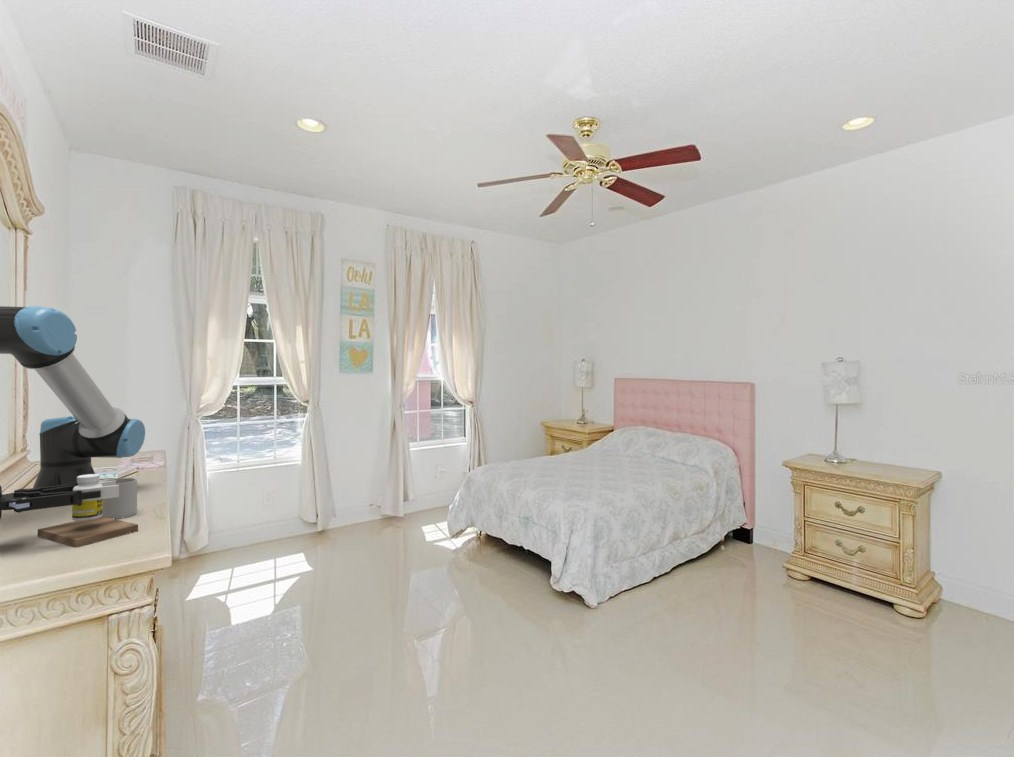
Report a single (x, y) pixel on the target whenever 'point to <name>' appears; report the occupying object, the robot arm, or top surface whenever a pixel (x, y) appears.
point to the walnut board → (87, 531)
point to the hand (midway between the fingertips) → (117, 488)
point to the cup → (122, 499)
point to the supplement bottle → (88, 508)
